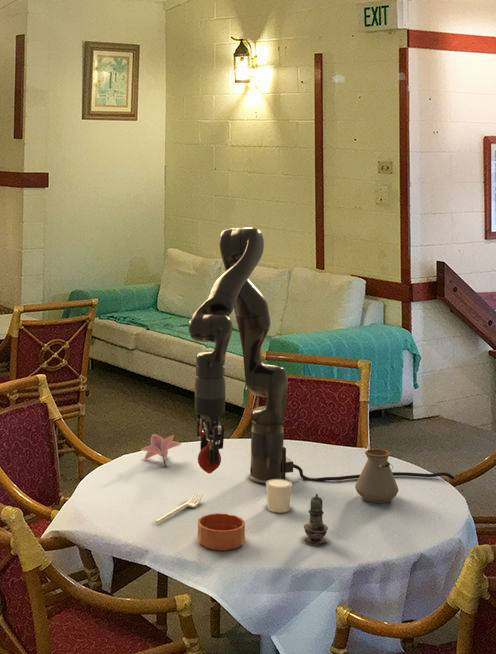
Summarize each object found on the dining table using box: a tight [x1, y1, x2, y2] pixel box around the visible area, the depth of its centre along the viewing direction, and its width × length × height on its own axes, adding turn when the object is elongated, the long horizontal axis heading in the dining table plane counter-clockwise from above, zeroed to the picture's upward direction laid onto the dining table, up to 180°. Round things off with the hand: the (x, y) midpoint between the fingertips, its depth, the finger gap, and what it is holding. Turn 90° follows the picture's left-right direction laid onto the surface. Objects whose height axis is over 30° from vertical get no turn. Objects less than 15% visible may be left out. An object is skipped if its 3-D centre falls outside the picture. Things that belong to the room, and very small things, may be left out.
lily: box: [140, 433, 182, 467], centre depth 289 cm, size 12×12×10 cm
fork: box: [155, 493, 204, 524], centre depth 251 cm, size 3×20×2 cm, turn 145°
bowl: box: [197, 512, 246, 551], centre depth 232 cm, size 11×11×5 cm
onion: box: [197, 442, 222, 474], centre depth 239 cm, size 6×6×8 cm
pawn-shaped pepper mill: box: [303, 493, 329, 547], centre depth 232 cm, size 6×6×12 cm
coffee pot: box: [354, 448, 399, 504], centre depth 256 cm, size 21×12×15 cm, turn 177°
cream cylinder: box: [265, 479, 293, 514], centre depth 253 cm, size 7×7×7 cm
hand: (209, 459), depth 239 cm, fingers closed on onion, 6 cm apart
